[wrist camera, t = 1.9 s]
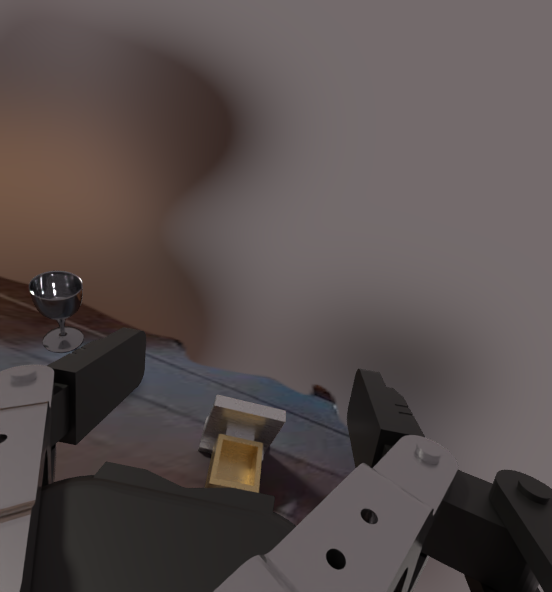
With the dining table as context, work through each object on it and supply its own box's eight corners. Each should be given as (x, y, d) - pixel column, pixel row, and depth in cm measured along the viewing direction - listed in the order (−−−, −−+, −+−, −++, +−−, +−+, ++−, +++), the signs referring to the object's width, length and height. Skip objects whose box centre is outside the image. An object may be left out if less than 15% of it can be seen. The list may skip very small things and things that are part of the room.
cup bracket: (256, 514, 53) (283, 482, 45) (185, 501, 51) (200, 466, 43) (263, 433, 64) (286, 395, 56) (205, 420, 63) (220, 379, 54)
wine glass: (92, 328, 70) (89, 276, 61) (76, 357, 64) (71, 303, 55) (51, 321, 68) (43, 266, 59) (31, 350, 62) (18, 293, 53)
